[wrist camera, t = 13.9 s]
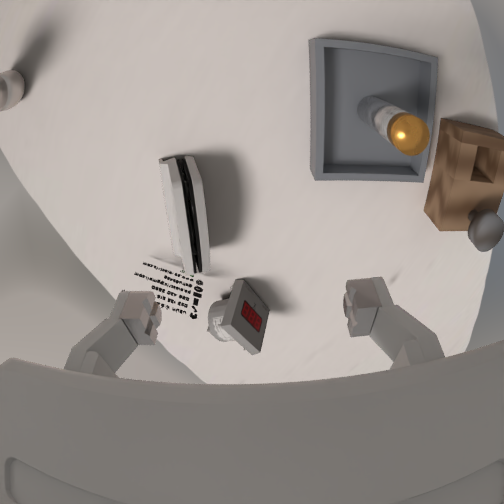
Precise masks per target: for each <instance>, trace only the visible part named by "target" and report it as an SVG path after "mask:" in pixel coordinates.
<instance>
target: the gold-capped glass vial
mask: <svg viewBox="0 0 504 504" xmlns="http://www.w3.org/2000/svg"><path fill="white" fill-rule="evenodd" d="M357 114H358V116H359V118H360V119H361V120H362V121H363V122H364V123H365V124H367V125H368V126H369V127H371V128H372V129H373V130H375V131H376V132H377V133H378V134H380V135H381V136H382V137H384V138H385V139H386V140H387V141H389V142H390V143H391V144H392V145H393V146H395V147H396V148H397V149H398V150H400V151H401V152H402V153H403V154H405V155H409V156H415V155H418V154H420V153H421V152H423V151H424V150H425V148H426V147H427V145H428V143H429V139H430V133H429V129H428V126H427V124H426V123H425V122H424V121H423V120H422V119H420V118H418V117H416V116H414V115H412V114H410V113H408V112H406V111H404V110H402V109H400V108H398V107H396V106H394V105H392V104H390V103H388V102H386V101H384V100H381V99H379V98H377V97H374V96H367V97H364V98H363V99H361V100H360V102H359V103H358V106H357Z"/></svg>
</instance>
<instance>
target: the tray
mask: <svg viewBox="0 0 504 504" xmlns="http://www.w3.org/2000/svg"><path fill="white" fill-rule="evenodd" d="M309 60H310V106H311V140H310V170H311V172H312V175H313V177H314V179H315V181H316V180H363V181H400V182H422V183H423V181H424V177H425V171H426V166H427V160H428V155H429V148H430V142H431V135H432V127H433V119H434V110H435V100H436V87H437V68H438V58H437V57H434V56H430V55H426V54H422V53H418V52H413V51H409V50H404V49H399V48H394V47H389V46H383V45H376V44H370V43H362V42H354V41H345V40H333V39H318V38H314V39H310V40H309ZM367 96H374V97H377V98H379V99H381V100H384V101H386V102H388V103H390V104H392V105H394V106H396V107H398V108H400V109H402V110H404V111H406V112H408V113H410V114H412V115H414V116H416V117H418V118H420V119H422V120H423V121H424V122H425V123H426V124H427V126H428V129H429V133H430V139H429V143H428V145H427V147H426V148H425V150H424V151H423V152H421V153H420V154H418V155H415V156H409V155H405V154H403V153H402V152H401V151H400V150H398V149H397V148H396V147H395V146H393V145H392V144H391V143H390V142H389V141H387V140H386V139H385V138H384V137H382V136H381V135H380V134H378V133H377V132H376V131H375V130H373V129H372V128H371V127H369V126H368V125H367V124H365V123H364V122H363V121H362V120H361V119H360V118H359V116H358V114H357V106H358V103H359V102H360V100H361V99H363V98H364V97H367Z"/></svg>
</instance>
